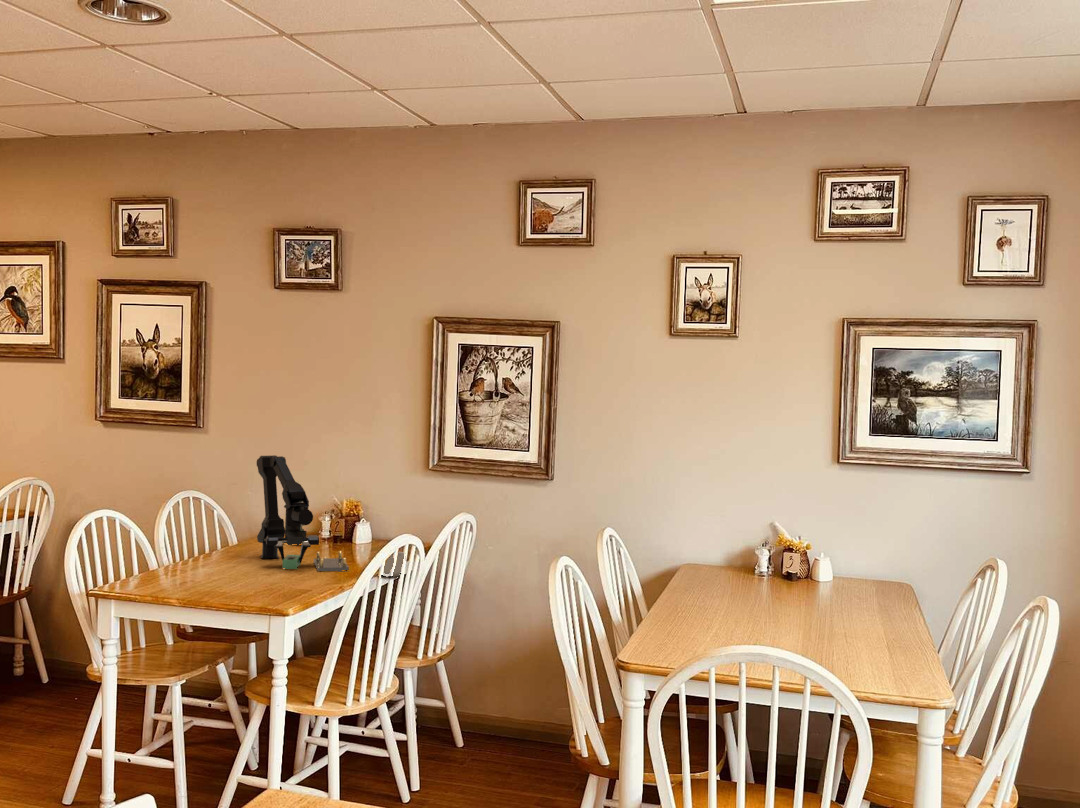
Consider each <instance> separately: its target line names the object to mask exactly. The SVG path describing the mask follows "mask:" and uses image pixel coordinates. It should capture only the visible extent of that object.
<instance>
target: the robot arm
mask: <svg viewBox="0 0 1080 808" xmlns="http://www.w3.org/2000/svg"><path fill="white" fill-rule="evenodd" d="M256 467H257V470H258V471H257V472H258V474H259V476H260V477H261V478H262V479H263V481H262V482H263V483H262V484H263V494H264V495H263V496H264V497H263V498H264V500H263V501H264V515H265V516H264V518H263V520H262V522H261V528H260V530H259V532H258V534H257V536H256V538H257V539H256V540H257V542H258V543H260V544H262V551H261V553H262V554H260V559H261V558H262V559H261V560H266V559H267V558H268V559H267V560H270V559H269V558H279V559H280V557H281V561H282V562H283V559H284V558H285V552H284V551H285V550H284V543H287V544H288V545H287V546H293V545H292V544H297V545H299V544H301V543H302V545H301V546H300V552H299V555H300V563H301V564H302V561H303V558H304V556H305V554H306V551H307V550H308V548H311V547H312V546H314V545H315V546H317V545H318V546H319V545H320V538H319V536H318V534H307V533H308V532H307V530H304V531H301V524H302V525H303V526H308V525H310V524H312V522H313V520H314V515H313V512H312V511H311V510H310V509H309V507H310V503H309V502H310V501H309V499H308V496H307V494H306V491H305V489H304V488H303V486H302V484H300V483H299V482H297V481H296V480H295V479H294V477H293V474H292V473H291V469H290V468H289V466H288V463H287V460H286V457H285V456H283V455H282V456H279V455H260V456H259V458H257V460H256ZM277 478H278V480H279V483H280V485H281V488H282V493H281V496H282V500H283V501H284V504H285V505H284V506H283V508H284V509H285V521H284V519H283V518H281V516H280V515H279V504H278V489H277V488H278V487H277ZM306 534H307V535H306ZM278 552H279V554H278ZM279 555H280V556H279Z"/></svg>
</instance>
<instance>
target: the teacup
mask: <svg viewBox="0 0 1080 808" xmlns="http://www.w3.org/2000/svg"><path fill="white" fill-rule="evenodd" d="M378 553H379V552H377V553H376V554H375V555H374V556H375V557H376V555H377V554H378ZM404 553H405V552H402V551H399V552H398V557H397V563H396V566H395V569H394V572H393V577H392V578H395V577H400V575H401V574H400V572H401V567H402V564H403V559H404ZM393 563H394V558H393V555H391V556H390V558H388V560H387V562H386V564H385V566H384V573H385V574H389V573H390V570H391V569H392V567H393ZM399 574H400V575H399Z"/></svg>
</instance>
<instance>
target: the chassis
mask: <svg viewBox="0 0 1080 808" xmlns="http://www.w3.org/2000/svg"><path fill="white" fill-rule="evenodd" d="M342 556H343V551H342V550H338V557H337V558H336V557H335V558H334V557H332V558H331V557H330V558H329V557H328V558H321V551H316V558H313V564H314V563H315V564H314V566H316V567H315V568H317V569H316V571H317V570H318V571H337V572H343V571H342V570H349V569H350V566H349V565H348V563H347V557H342ZM318 571H317V572H318ZM349 571H350V570H349Z"/></svg>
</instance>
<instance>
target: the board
mask: <svg viewBox="0 0 1080 808" xmlns="http://www.w3.org/2000/svg"><path fill="white" fill-rule="evenodd" d="M300 564H301V565H302V562H301V563H300V554H287V555H285V556H284V559H283V561H282V568H285V569H298V568H299V567H300V566H301V565H300ZM299 565H300V566H299ZM298 566H299V567H298ZM297 567H298V568H297ZM285 569H284V570H285Z"/></svg>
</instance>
